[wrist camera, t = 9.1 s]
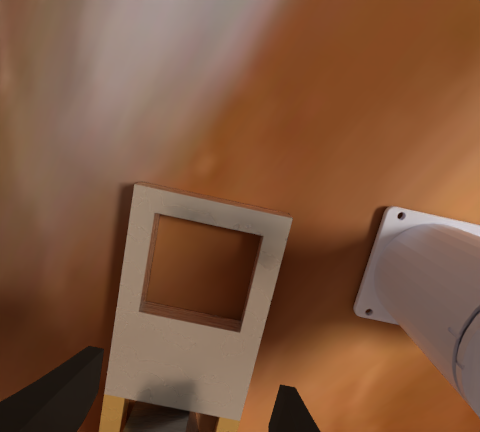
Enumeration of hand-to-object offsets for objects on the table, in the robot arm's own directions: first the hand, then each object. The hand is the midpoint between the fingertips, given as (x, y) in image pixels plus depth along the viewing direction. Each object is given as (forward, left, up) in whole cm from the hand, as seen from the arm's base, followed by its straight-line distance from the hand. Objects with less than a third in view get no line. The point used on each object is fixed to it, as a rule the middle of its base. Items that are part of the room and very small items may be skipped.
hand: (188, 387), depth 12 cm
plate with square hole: (+1, +6, -10) cm, 12 cm away
